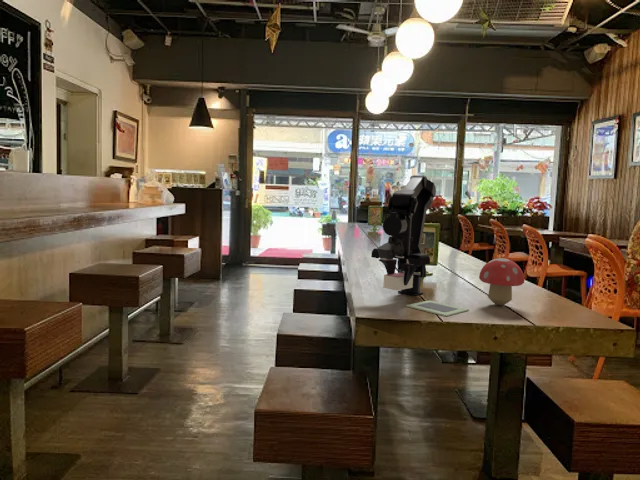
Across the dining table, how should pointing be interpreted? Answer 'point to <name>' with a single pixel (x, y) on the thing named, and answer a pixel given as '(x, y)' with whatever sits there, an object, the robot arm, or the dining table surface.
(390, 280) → the card box
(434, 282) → the dining table surface
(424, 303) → the mat
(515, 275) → the decorative mushroom
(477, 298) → the dining table surface
